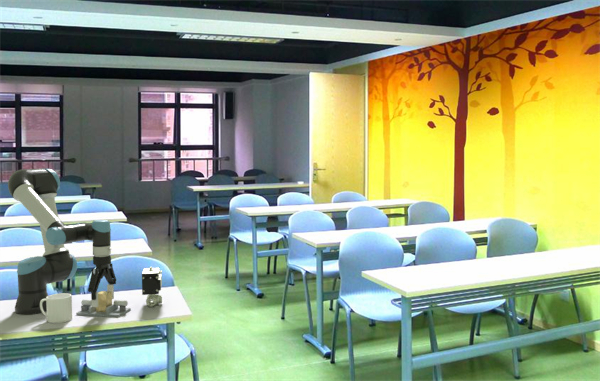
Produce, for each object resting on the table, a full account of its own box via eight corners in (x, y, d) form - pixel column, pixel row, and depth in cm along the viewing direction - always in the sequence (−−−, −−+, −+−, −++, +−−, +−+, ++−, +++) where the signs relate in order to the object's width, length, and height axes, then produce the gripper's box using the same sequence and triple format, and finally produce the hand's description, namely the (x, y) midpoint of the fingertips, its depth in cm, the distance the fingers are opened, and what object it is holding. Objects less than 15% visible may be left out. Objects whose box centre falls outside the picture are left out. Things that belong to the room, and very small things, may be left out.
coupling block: (96, 311, 259) (95, 293, 259) (101, 308, 264) (101, 291, 264) (106, 312, 258) (106, 294, 258) (112, 309, 263) (111, 291, 263)
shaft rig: (76, 315, 258) (75, 302, 257) (89, 308, 269) (89, 296, 268) (118, 317, 254) (118, 304, 254) (130, 310, 265) (130, 298, 264)
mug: (70, 315, 258) (69, 292, 257) (74, 321, 249) (73, 297, 248) (39, 319, 252) (38, 295, 251) (41, 325, 243) (40, 301, 242)
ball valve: (161, 309, 266) (160, 270, 265) (142, 310, 264) (141, 271, 263) (163, 299, 284) (162, 262, 282) (145, 300, 282) (144, 263, 281)
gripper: (94, 261, 247) (96, 310, 248) (123, 250, 271) (124, 295, 273) (78, 260, 248) (79, 309, 250) (108, 249, 272) (109, 295, 274)
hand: (103, 302), depth 261 cm, fingers open, 13 cm apart
